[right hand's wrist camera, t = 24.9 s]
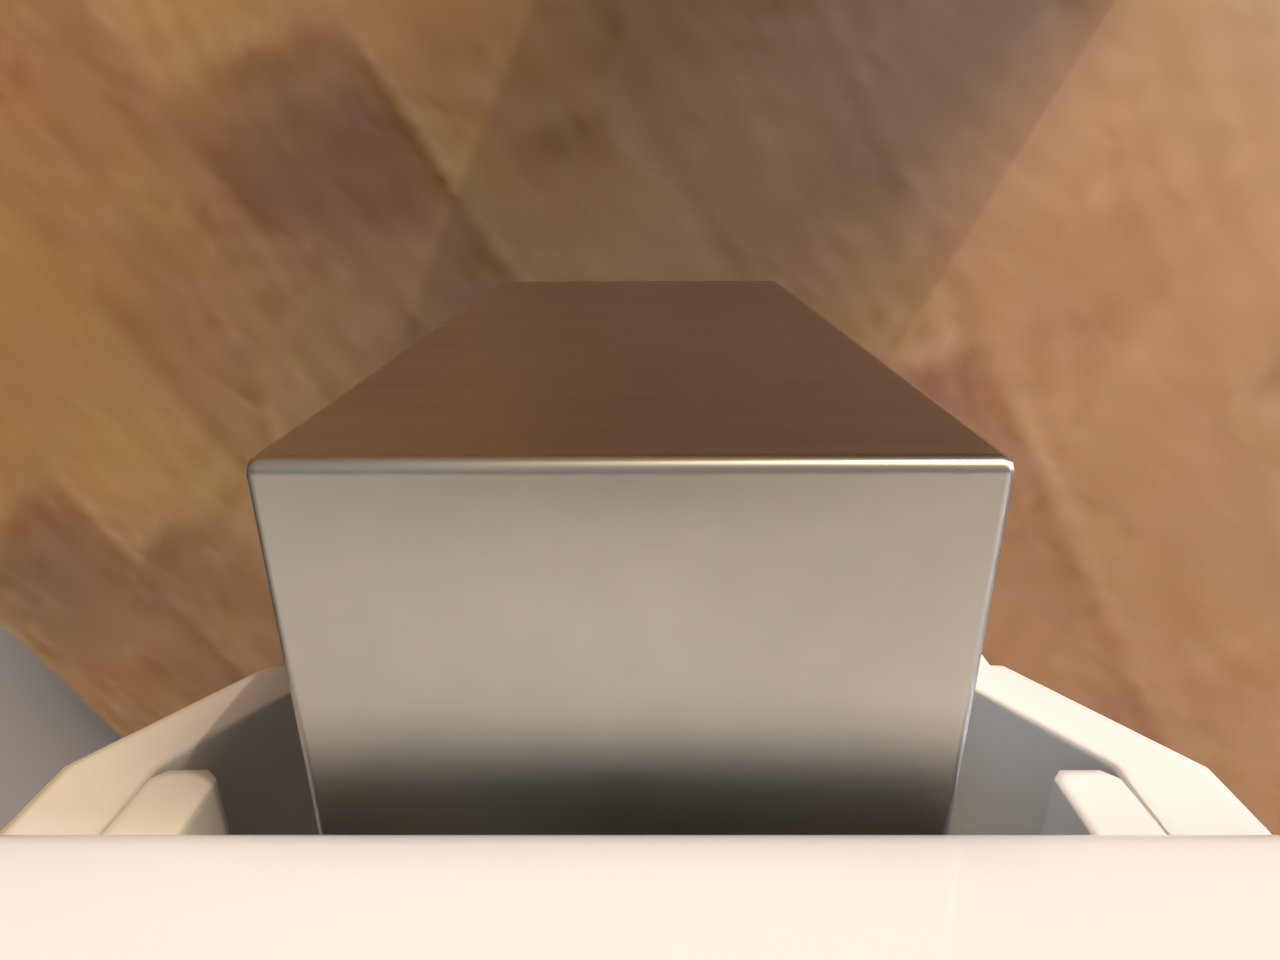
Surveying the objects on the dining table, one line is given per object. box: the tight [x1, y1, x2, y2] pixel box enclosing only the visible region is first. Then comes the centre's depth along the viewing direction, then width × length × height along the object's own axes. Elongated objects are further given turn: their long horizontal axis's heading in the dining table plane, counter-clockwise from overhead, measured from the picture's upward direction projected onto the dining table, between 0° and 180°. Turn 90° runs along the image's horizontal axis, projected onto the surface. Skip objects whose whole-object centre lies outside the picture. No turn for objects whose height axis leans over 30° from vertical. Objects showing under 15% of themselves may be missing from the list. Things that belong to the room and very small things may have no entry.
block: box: [247, 281, 1015, 835], centre depth 10 cm, size 5×8×9 cm, turn 0°
